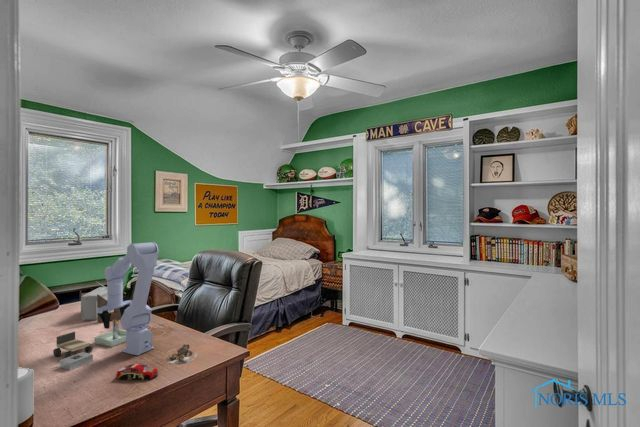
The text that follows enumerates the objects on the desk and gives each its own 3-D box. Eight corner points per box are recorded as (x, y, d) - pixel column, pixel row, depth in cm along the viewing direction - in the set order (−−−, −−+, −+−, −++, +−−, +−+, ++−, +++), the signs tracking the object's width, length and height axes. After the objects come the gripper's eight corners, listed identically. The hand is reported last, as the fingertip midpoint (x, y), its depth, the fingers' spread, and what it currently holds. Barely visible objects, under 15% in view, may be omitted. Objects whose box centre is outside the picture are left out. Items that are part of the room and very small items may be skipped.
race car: (161, 373, 121) (161, 362, 121) (153, 381, 115) (153, 369, 115) (123, 373, 121) (123, 361, 121) (114, 381, 115) (114, 369, 115)
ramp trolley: (92, 351, 138) (92, 334, 138) (69, 360, 130) (69, 342, 130) (77, 347, 142) (77, 330, 142) (53, 355, 134) (53, 337, 134)
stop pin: (119, 339, 150) (119, 319, 150) (114, 340, 148) (114, 320, 148) (116, 338, 151) (116, 319, 151) (111, 339, 149) (111, 320, 149)
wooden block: (97, 321, 174) (97, 286, 174) (121, 317, 182) (120, 283, 181) (99, 323, 171) (98, 287, 171) (123, 318, 179) (122, 284, 179)
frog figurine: (174, 351, 140) (174, 342, 139) (202, 352, 138) (202, 343, 138) (158, 364, 128) (158, 354, 128) (189, 365, 127) (189, 355, 127)
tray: (135, 338, 152) (135, 332, 152) (111, 347, 142) (111, 341, 142) (118, 334, 157) (118, 328, 157) (94, 343, 147) (94, 337, 147)
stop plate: (92, 361, 129) (92, 354, 129) (69, 370, 122) (69, 363, 122) (82, 358, 132) (82, 351, 132) (59, 367, 125) (59, 360, 124)
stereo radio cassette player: (98, 310, 195) (98, 274, 194) (114, 309, 196) (114, 274, 196) (80, 322, 174) (79, 282, 174) (98, 321, 175) (97, 281, 175)
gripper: (124, 289, 158) (124, 319, 158) (92, 297, 144) (92, 329, 144) (135, 291, 155) (135, 321, 155) (103, 298, 141) (103, 331, 142)
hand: (115, 325), depth 149 cm, fingers open, 7 cm apart
